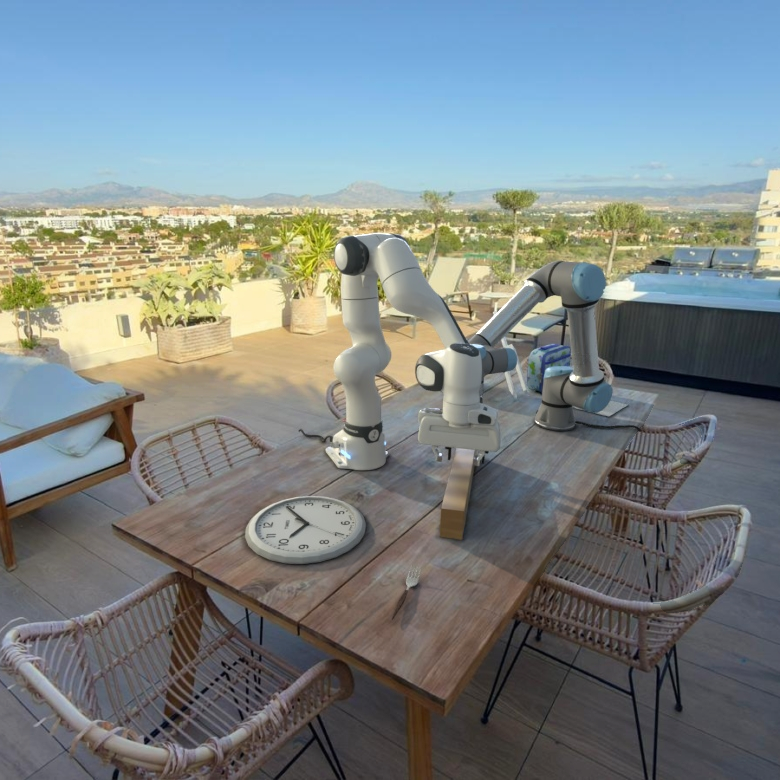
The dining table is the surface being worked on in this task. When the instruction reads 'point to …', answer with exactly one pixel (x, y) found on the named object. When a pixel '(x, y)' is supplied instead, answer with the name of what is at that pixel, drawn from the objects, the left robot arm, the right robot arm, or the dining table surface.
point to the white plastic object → (519, 371)
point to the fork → (410, 583)
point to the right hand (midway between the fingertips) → (466, 460)
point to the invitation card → (610, 408)
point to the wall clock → (305, 530)
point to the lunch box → (545, 363)
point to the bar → (457, 494)
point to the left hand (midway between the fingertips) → (457, 462)
